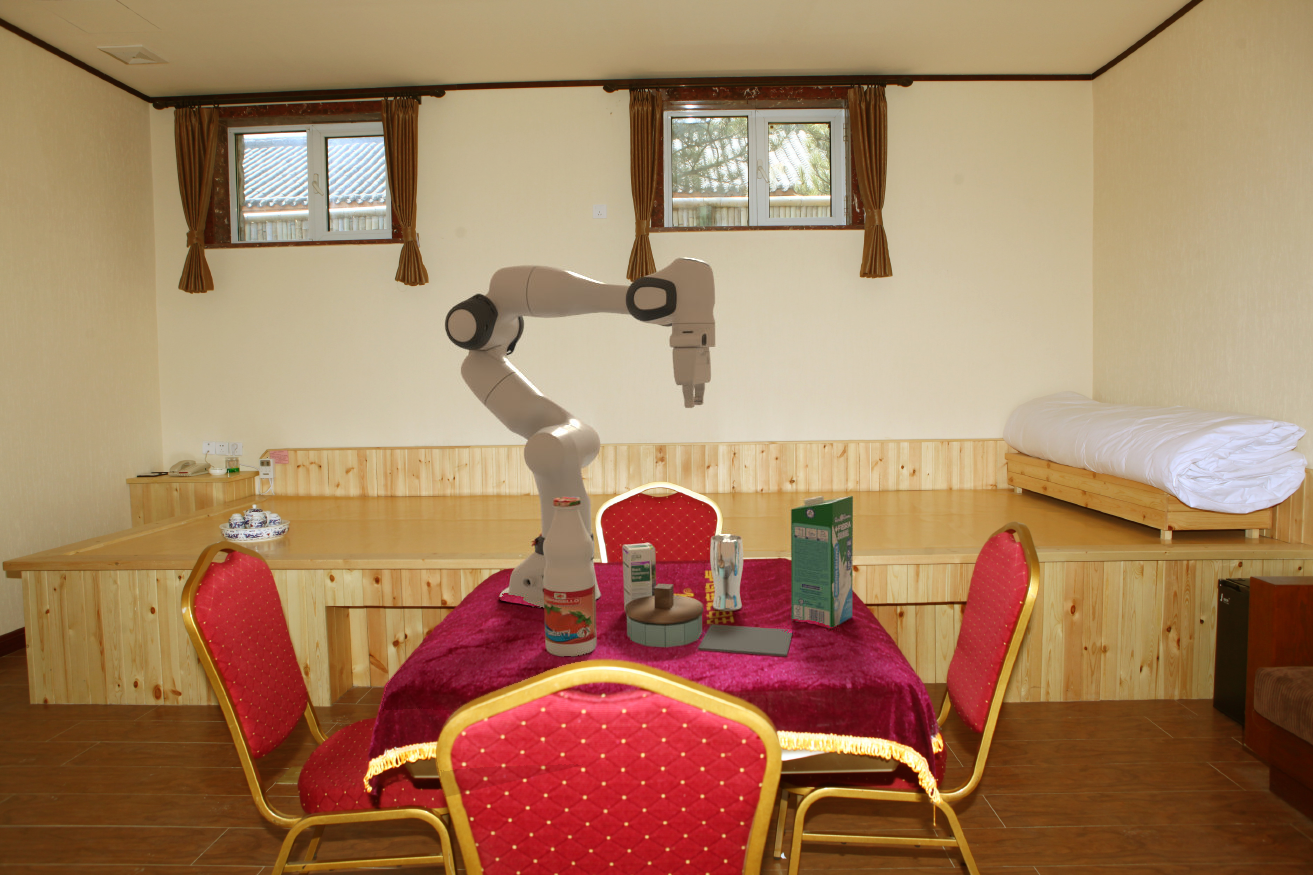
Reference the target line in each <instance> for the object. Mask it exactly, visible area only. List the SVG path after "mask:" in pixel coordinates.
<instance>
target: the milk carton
mask: <svg viewBox="0 0 1313 875" xmlns="http://www.w3.org/2000/svg"><path fill="white" fill-rule="evenodd" d="M803 502H804V505H801V506H798V507H794V508H791V510H790V514H791V515H790V524H791V525H790V529H791V530H790V538H791V539H790V541H791V542H790V543H791V544H790V553H791V554H790V558H791V563H790V564H791V565H790V567H791V569H790V570H791V571H790V573H791V574H790V575H791V577H790V579H791V581H790V584H791V586H790V587H791V588H790V589H791V590H790V592H791V593H790V595H791V596H790V599H791V605H790V606H791V615H790V616H791V619H798V620H811V621H816V622H819V623H823V624H825V625H829V626H830V627H834V626H836V627H837V625H838V626H839V625H841V624H843V623H844V622H846V621H847V620H850V619H851V618H853V566H854V565H853V564H854V562H853V561H854V560H853V553H854V552H853V551H854V550H853V548H854V547H853V544H854V543H853V542H854V541H853V540H854V539H853V537H854V535H853V534H854V533H853V532H854V530H853V529H854V526H853V525H854V523H853V522H854V519H853V518H854V516H853V515H854V496H852V495H851V496H850V495H849V496H845V497H837V498H831V499H825V498H824V495H820V496H813V497H807V498H805V499H803ZM834 628H835V627H834Z"/></svg>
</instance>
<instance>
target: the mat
mask: <svg viewBox="0 0 1313 875" xmlns="http://www.w3.org/2000/svg"><path fill="white" fill-rule="evenodd" d="M782 630H783V631H782ZM785 630H787V631H785ZM788 630H789V629H787V628H783V629H782V628H770V627H768V628H767V627H758V626H757V627H755V626H754V627H753V626H743V625H742V626H741V625H739V626H738V625H726V624H710V625H709V628H708V629H707V630H706V633H705V635H704V636H703V638H702V640H701V642H700V643H699V645H698V646H697V650H698V651H709V652H710V651H711V652H722V653H736V654H746V655H747V654H748V655H759V656H760V655H761V656H775V657H776V656H777V657H785V658H786V657H788V653H789V649H790V646H791V642H792V638H793V634H792V633H789V632H788ZM784 631H785V632H784ZM787 632H788V633H787ZM791 637H792V638H791Z"/></svg>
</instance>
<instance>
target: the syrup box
mask: <svg viewBox="0 0 1313 875" xmlns="http://www.w3.org/2000/svg"><path fill="white" fill-rule="evenodd" d="M656 562H657V560H656V547H654V546H653V544H651V543H650V542H645V543H633V544H631V543H630V544H623V545H622V570H623V573H622V574H623V601H624V602H623V604H624V609H625V606H626V605H627V604H628V603H629V602H631V601H633V600H635V599H638V598H642V597H648V596H654V588H655V587H656V586H657V574H656V573H657V569H656V566H657V565H656V564H657V563H656Z"/></svg>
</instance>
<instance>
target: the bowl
mask: <svg viewBox="0 0 1313 875" xmlns="http://www.w3.org/2000/svg"><path fill="white" fill-rule="evenodd" d="M701 633H702V634H703V613H702V614H701V615H700V616H699V617H697V618H694V619H692V620H688V621H684V622H678V623H672V624H654V623H647V622H641V621H637V620H634V619H632V618H630V617H628V616H627V615H626V634H627V637H628V638H629V637H630V638H629V640H630V641H631V640H632V641H631V642H633V641H634V642H633V643H636V644H639V645H641V646H645V647H658V648H670V647H680V646H686V645H689V644H691V643H694V642H696V641H698V640H700V638H701V636H702V634H701ZM700 635H701V636H700ZM699 637H700V638H699ZM697 639H698V640H697Z"/></svg>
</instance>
